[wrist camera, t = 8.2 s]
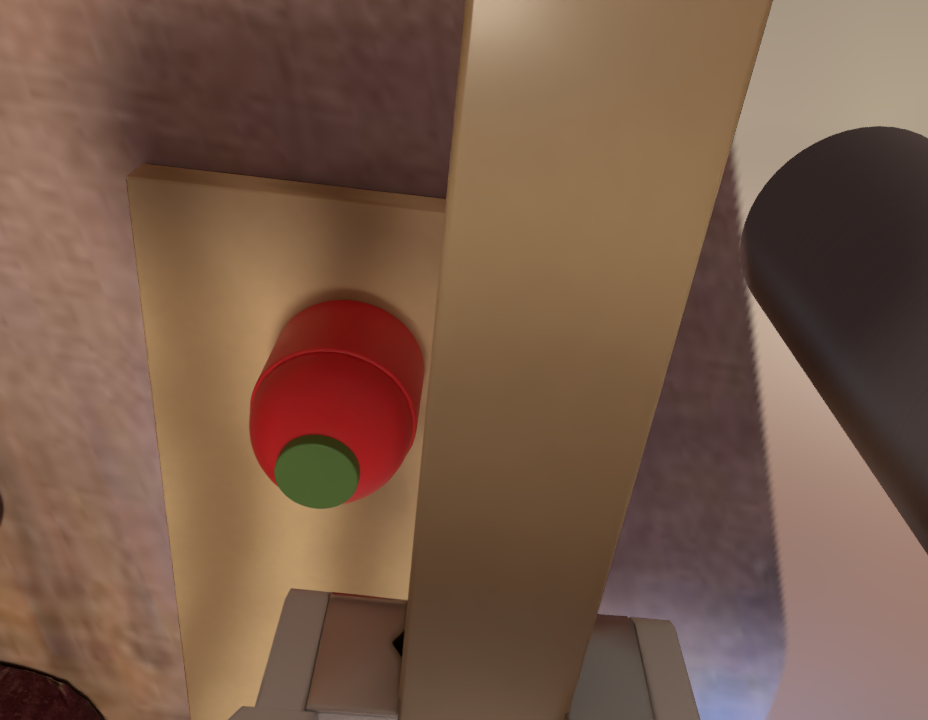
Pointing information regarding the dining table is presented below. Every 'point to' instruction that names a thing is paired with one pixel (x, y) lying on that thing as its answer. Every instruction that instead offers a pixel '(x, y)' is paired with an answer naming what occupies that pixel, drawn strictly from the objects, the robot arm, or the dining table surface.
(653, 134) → the tan wooden bar
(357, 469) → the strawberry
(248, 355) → the board
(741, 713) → the dining table surface
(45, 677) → the vegetable
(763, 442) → the dining table surface
